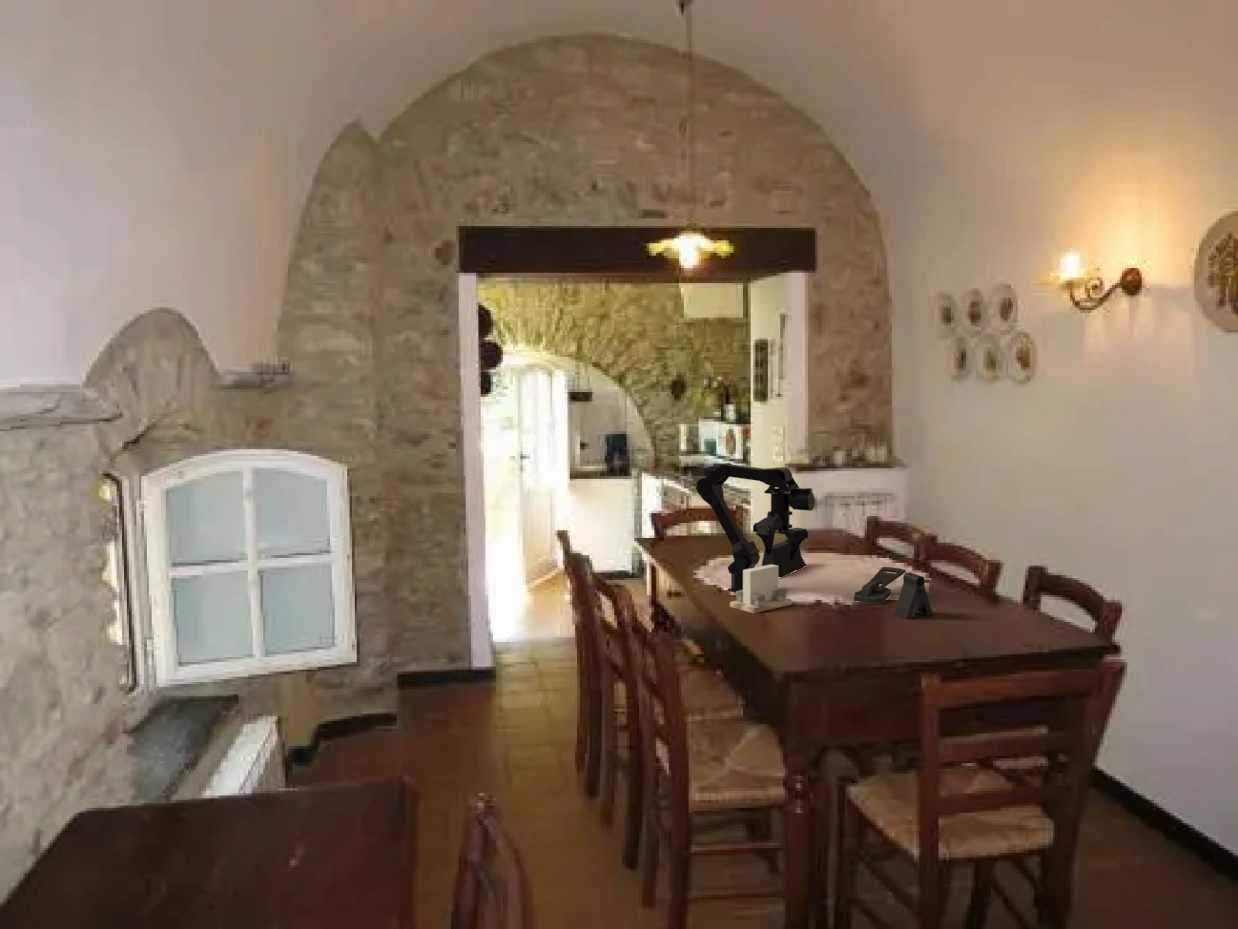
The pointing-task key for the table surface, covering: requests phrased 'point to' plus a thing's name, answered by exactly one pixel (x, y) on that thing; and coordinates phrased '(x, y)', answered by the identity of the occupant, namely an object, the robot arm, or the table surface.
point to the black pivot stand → (913, 598)
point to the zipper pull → (872, 590)
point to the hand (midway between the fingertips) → (779, 557)
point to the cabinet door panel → (760, 582)
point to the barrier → (783, 559)
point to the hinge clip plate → (762, 608)
